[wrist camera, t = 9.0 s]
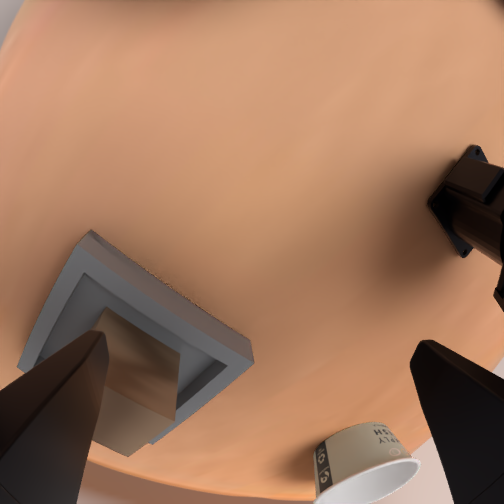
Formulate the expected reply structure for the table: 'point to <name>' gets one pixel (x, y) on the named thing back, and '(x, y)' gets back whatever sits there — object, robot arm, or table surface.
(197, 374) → the tray
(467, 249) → the robot arm
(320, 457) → the food container
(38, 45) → the table surface
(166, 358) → the cube
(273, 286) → the table surface
